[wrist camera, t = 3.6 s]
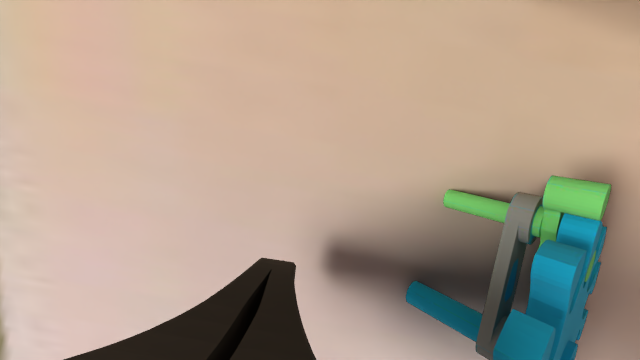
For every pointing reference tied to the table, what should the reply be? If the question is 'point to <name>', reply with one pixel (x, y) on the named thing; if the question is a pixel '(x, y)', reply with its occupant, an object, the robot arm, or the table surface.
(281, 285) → the robot arm
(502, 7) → the table surface
